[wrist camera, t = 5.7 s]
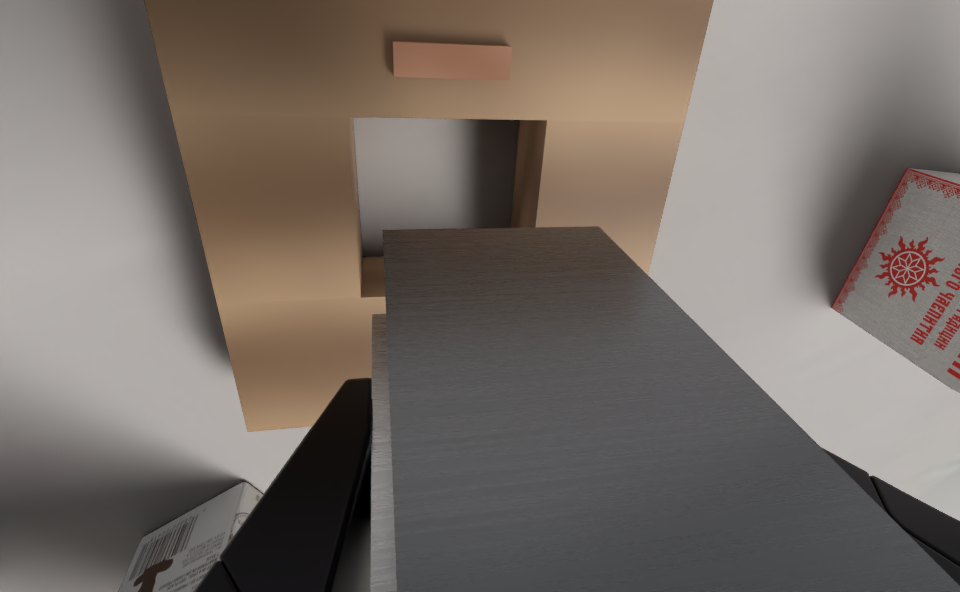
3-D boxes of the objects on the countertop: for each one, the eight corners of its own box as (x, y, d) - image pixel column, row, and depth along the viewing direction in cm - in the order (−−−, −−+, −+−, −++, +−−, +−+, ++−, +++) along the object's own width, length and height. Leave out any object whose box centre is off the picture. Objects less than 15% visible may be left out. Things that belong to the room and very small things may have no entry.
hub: (590, 355, 23) (620, 404, 20) (263, 378, 21) (245, 438, 18) (676, -82, 15) (744, -101, 12) (159, -131, 13) (97, -168, 10)
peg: (598, 225, 10) (1331, 955, 2) (568, 391, 12) (907, 1066, 4) (368, 230, 9) (342, 1360, 1) (378, 406, 11) (388, 1265, 3)
